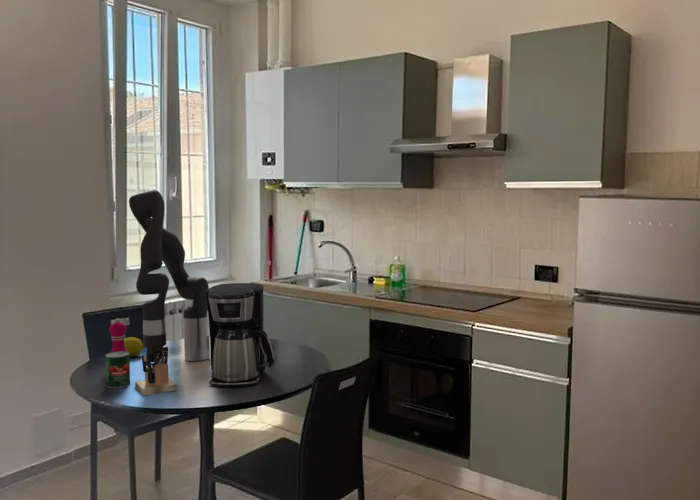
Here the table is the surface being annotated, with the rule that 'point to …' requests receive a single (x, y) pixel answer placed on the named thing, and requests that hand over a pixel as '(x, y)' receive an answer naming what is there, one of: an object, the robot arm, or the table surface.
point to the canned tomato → (117, 369)
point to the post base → (155, 387)
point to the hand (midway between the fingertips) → (156, 380)
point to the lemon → (133, 346)
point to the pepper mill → (118, 336)
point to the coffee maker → (237, 334)
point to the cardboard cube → (159, 375)
